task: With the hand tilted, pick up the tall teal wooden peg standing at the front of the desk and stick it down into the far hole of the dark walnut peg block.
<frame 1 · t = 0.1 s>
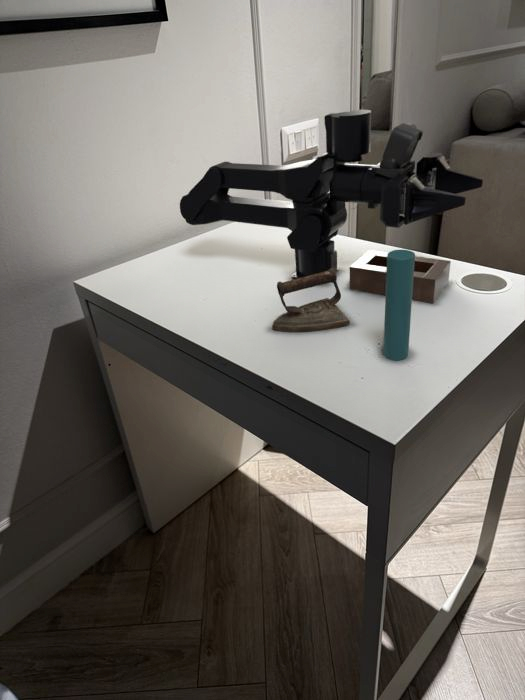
hand: (474, 191, 71), 17 cm above the table, tool horizontal, fingers open, 9 cm apart
peg: (395, 354, 69), on the table
peg block: (398, 286, 86), on the table
clothes iron: (307, 323, 78), on the table
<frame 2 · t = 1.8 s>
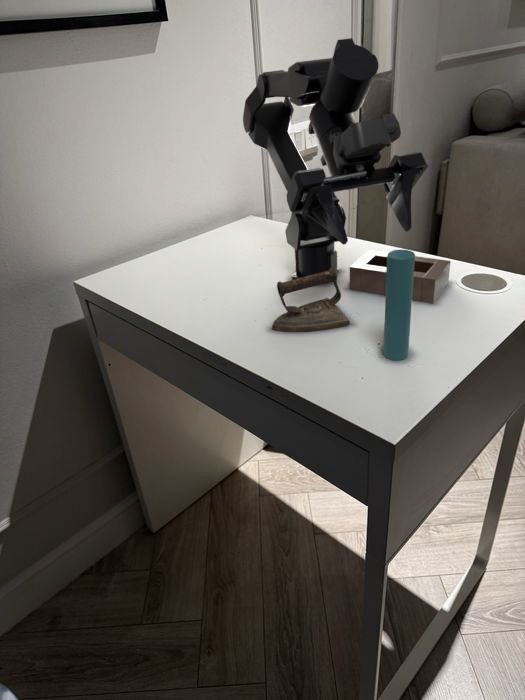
hand: (377, 236, 68), 14 cm above the table, tool tilted 45°, fingers open, 9 cm apart
nothing on the table moved.
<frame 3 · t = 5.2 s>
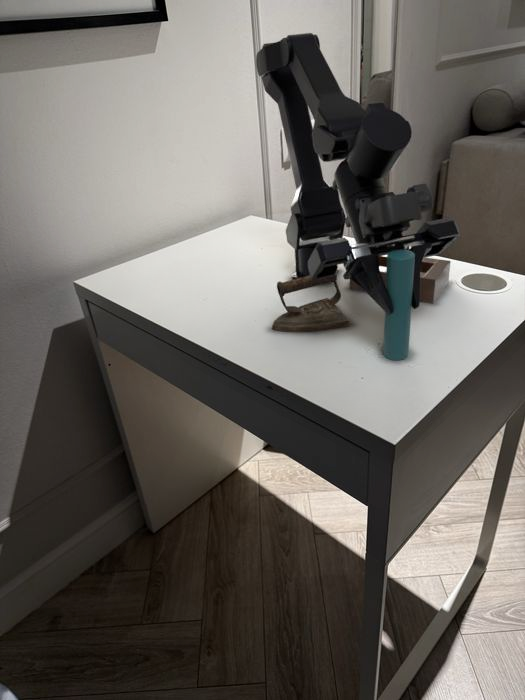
hand: (403, 311, 64), 7 cm above the table, tool tilted 45°, fingers closed on peg, 3 cm apart
peg: (395, 354, 69), on the table, touching gripper
everything else where it was.
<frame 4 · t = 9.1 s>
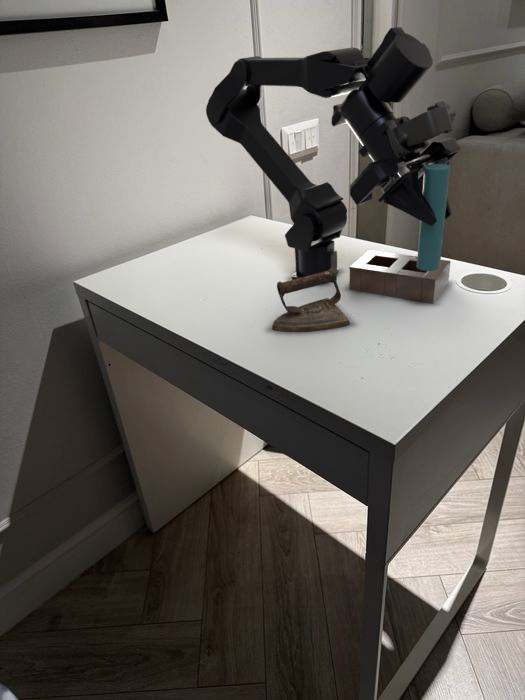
hand: (441, 220, 70), 14 cm above the table, tool tilted 45°, fingers closed on peg, 3 cm apart
peg: (428, 266, 75), point 7 cm above the table, touching gripper
everything else where it was.
when the fingers open (7 cm above the table, at t = 13.2 s): peg stays where it is, resting in peg block.
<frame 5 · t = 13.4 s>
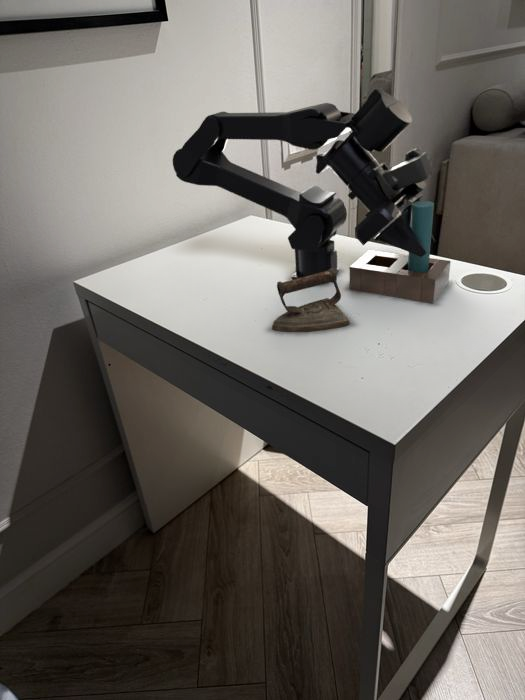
hand: (428, 249, 80), 7 cm above the table, tool tilted 45°, fingers open, 4 cm apart
peg: (416, 289, 85), resting in peg block
everything else where it was.
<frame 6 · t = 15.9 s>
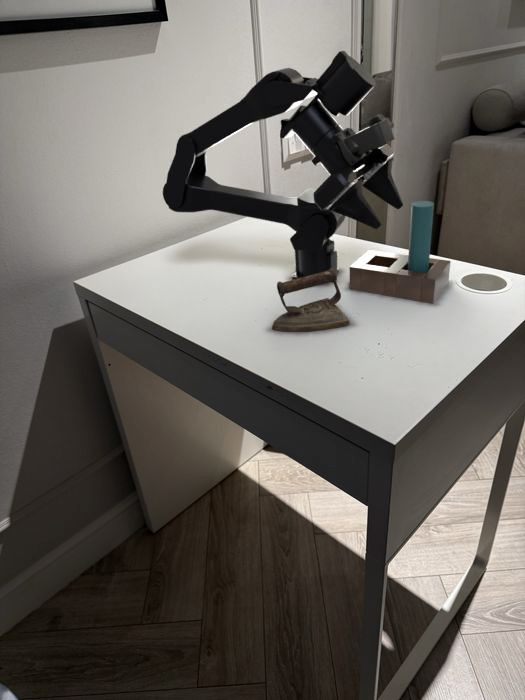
hand: (390, 216, 80), 12 cm above the table, tool tilted 45°, fingers open, 9 cm apart
nothing on the table moved.
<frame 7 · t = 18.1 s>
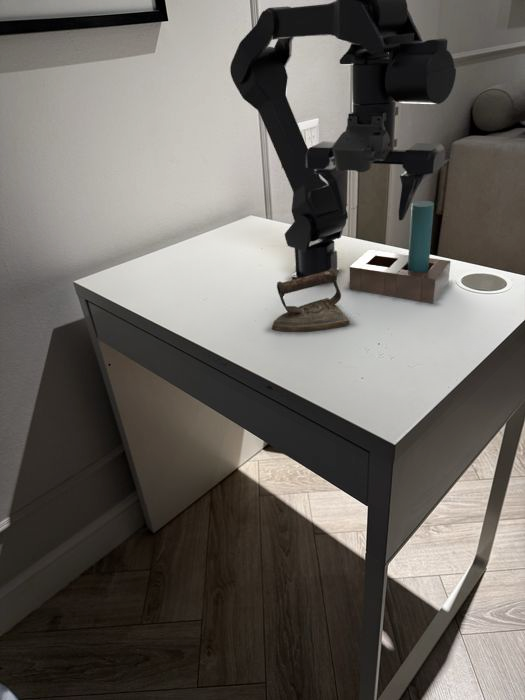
hand: (371, 216, 77), 13 cm above the table, tool pointing down, fingers open, 9 cm apart
nothing on the table moved.
at the end: peg 0.0 cm from the target spot in the peg block, point 0.0 cm above the peg block's base; peg tilted 0°; the gripper is holding nothing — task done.
